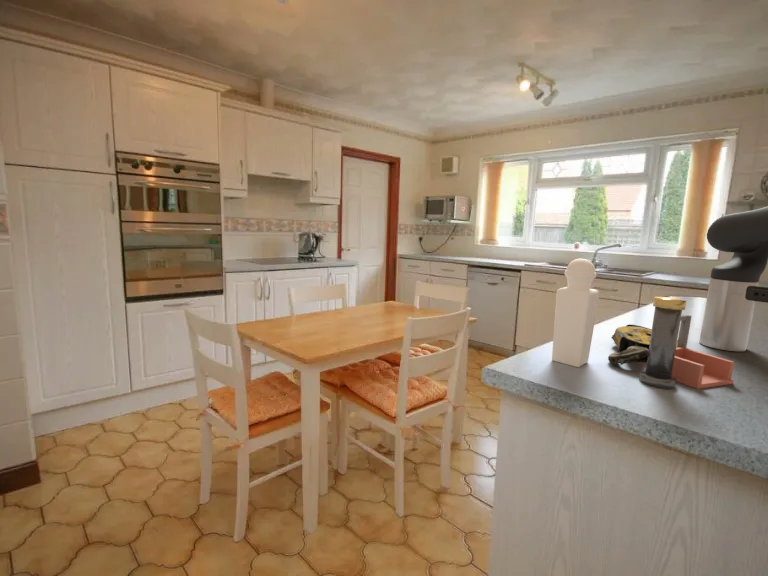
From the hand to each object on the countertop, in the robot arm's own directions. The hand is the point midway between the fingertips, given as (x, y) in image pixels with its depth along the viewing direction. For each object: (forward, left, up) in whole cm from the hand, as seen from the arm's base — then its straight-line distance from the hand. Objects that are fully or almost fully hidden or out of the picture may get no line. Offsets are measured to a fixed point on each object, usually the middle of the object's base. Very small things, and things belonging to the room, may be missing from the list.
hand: (757, 291), depth 63 cm
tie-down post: (+3, -11, -19) cm, 22 cm away
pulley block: (-9, -25, -20) cm, 33 cm away
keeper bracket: (-7, -12, -19) cm, 24 cm away
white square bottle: (+10, -25, -19) cm, 33 cm away
